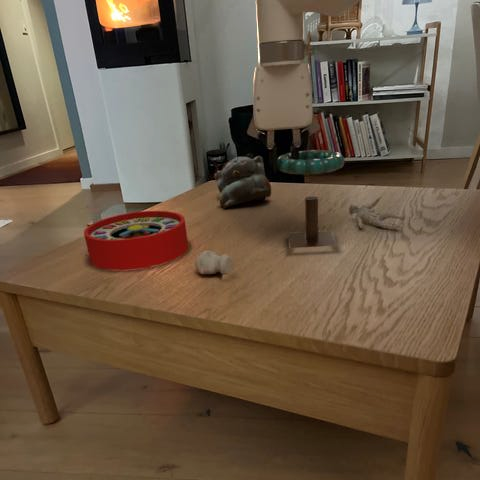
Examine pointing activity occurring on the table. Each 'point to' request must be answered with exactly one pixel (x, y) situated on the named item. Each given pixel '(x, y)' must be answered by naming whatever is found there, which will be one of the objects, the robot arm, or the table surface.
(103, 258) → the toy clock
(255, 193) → the grey stacked animal sculpture
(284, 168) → the bracelet
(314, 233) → the stand
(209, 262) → the pale two-lobed sculpture
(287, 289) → the table surface
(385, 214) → the soldier figure
